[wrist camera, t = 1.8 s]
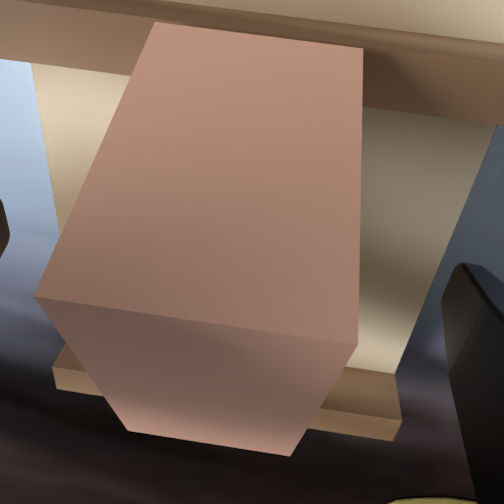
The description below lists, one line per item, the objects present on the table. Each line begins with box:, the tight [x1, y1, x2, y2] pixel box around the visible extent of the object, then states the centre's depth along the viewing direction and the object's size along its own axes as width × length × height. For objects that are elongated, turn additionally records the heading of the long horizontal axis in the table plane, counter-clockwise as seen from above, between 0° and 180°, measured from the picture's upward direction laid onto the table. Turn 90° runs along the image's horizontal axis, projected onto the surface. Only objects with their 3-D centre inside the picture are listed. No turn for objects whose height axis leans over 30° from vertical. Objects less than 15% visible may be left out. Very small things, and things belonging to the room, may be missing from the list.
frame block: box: [34, 22, 363, 456], centre depth 10 cm, size 7×4×6 cm, turn 174°
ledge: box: [0, 0, 504, 441], centre depth 11 cm, size 24×12×4 cm, turn 174°
